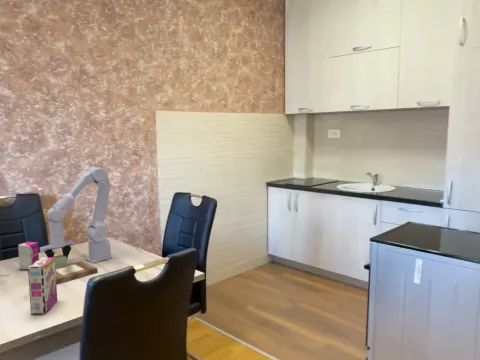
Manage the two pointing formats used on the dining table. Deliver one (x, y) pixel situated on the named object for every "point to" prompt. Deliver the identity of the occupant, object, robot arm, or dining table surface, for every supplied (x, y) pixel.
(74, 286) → the dining table surface
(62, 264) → the sage cube
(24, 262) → the supplement box
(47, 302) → the candy bar box
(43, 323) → the dining table surface
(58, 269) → the base board
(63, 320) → the dining table surface
